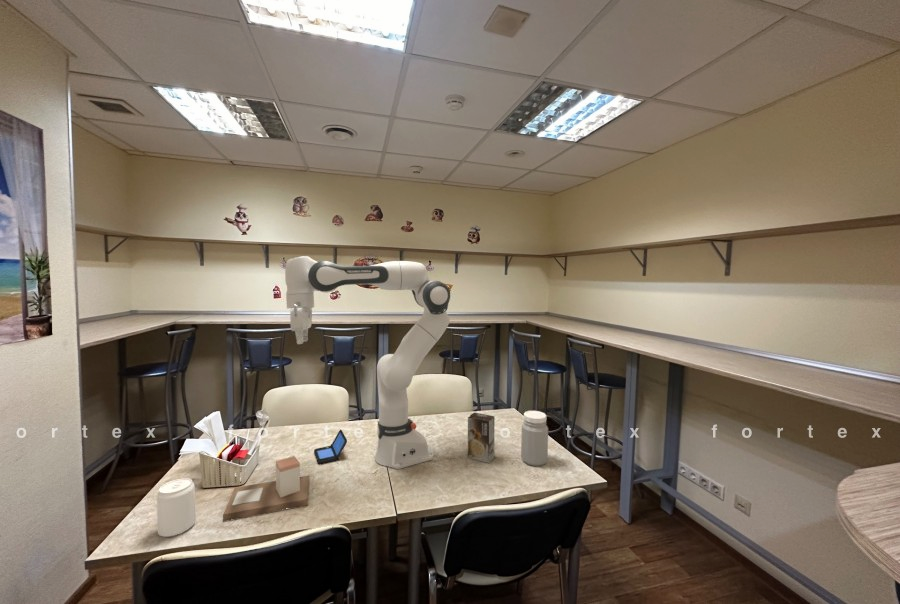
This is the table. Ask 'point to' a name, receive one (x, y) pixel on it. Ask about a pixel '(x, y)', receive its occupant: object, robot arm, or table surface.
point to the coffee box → (481, 437)
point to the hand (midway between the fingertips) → (302, 342)
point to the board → (263, 499)
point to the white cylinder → (176, 507)
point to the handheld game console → (331, 450)
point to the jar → (534, 438)
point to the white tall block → (287, 476)
